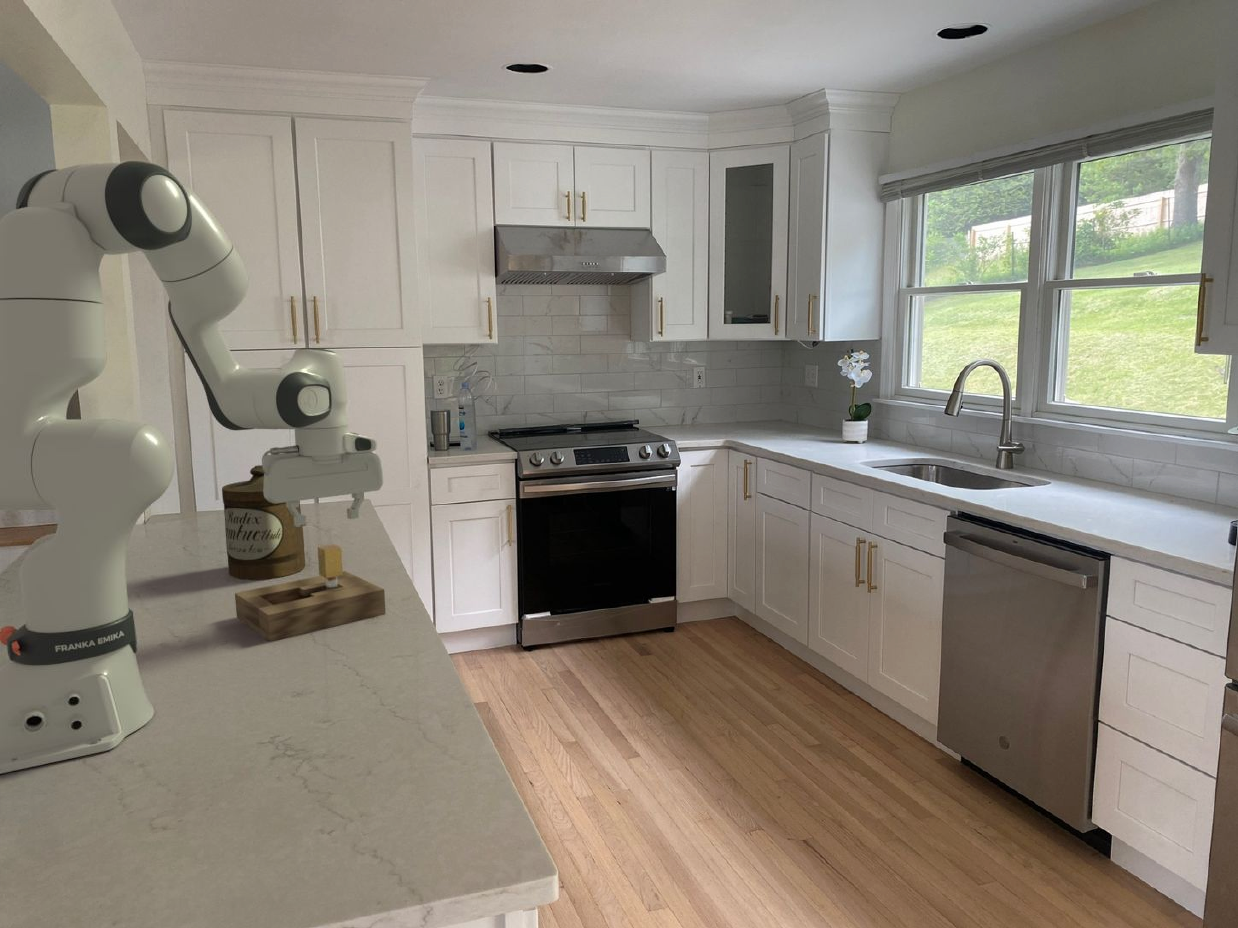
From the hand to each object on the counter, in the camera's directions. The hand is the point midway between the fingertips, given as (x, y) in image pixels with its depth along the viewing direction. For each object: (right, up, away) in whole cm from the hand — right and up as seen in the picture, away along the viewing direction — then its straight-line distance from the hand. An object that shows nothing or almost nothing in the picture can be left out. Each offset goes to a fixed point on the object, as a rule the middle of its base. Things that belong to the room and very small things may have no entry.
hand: (327, 522), depth 153 cm
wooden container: (-22, -12, +30) cm, 39 cm away
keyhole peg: (0, -15, +3) cm, 15 cm away
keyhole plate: (-3, -16, 0) cm, 17 cm away
